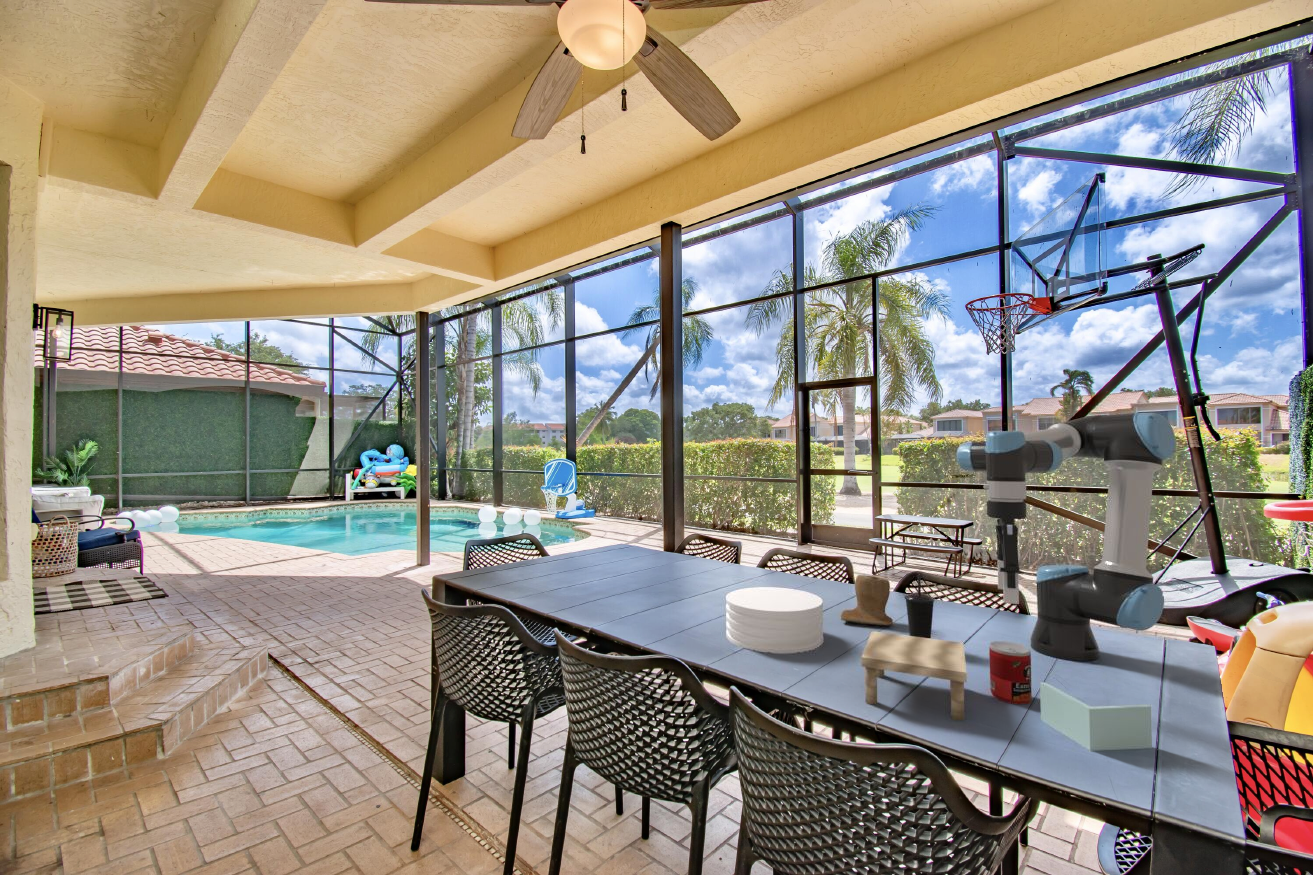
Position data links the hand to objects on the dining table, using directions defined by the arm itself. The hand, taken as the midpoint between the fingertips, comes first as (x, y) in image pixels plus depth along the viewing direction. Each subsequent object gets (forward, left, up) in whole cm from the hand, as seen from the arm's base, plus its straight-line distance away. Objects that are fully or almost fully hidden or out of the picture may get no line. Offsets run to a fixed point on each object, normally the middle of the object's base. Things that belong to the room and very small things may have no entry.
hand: (1007, 595), depth 126 cm
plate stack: (+58, -18, -23) cm, 65 cm away
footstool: (+19, +8, -22) cm, 30 cm away
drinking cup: (+19, -27, -22) cm, 40 cm away
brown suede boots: (+35, -45, -23) cm, 61 cm away
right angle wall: (-13, +12, -23) cm, 28 cm away
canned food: (0, 0, -22) cm, 22 cm away
